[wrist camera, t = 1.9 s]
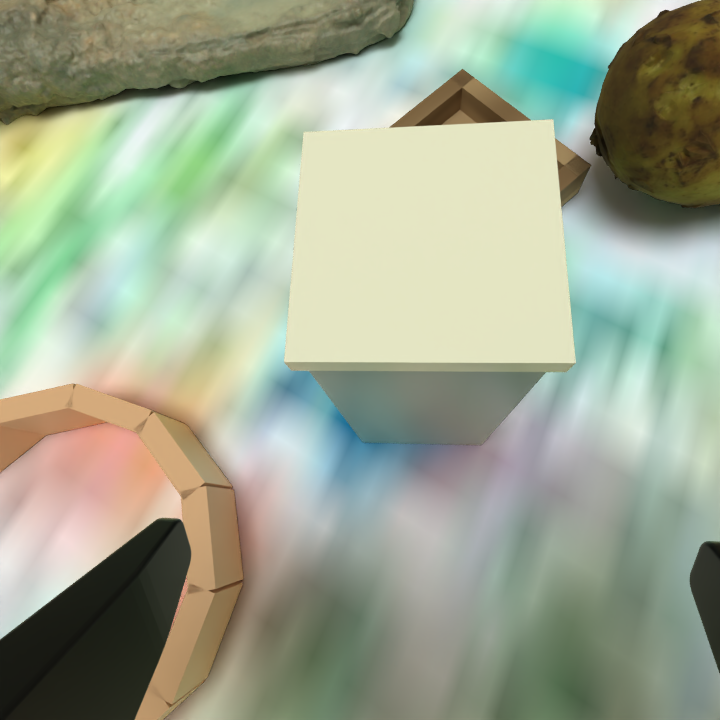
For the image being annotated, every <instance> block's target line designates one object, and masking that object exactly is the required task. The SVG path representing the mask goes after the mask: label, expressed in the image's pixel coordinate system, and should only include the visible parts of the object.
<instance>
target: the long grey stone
mask: <svg viewBox="0 0 720 720" xmlns="http://www.w3.org/2000/svg"><path fill="white" fill-rule="evenodd" d="M413 2H414V0H0V118H1V120H2V121H3V123H4V124H6V125H8V124H10V123H11V122H12V121H14V120H15V119H17V118H19V117H21V116H22V115H26V114H33V115H38V114H39V113H41V112H42V111H43V110H44V109H46V108H47V107H55V106H61V105H63V106H65V105H73V104H80V103H84V102H90V101H94V100H96V99H101V100H104V99H106V98H107V97H110V96H112V95H117V94H118V93H120V92H121V91H123V90H125V89H127V88H129V89H131V88H136V89H147V88H155V89H157V88H159V87H161V86H165V85H167V84H170V85H171V86H172V87H175V88H184V87H186V86H187V85H188V84H190V83H192V82H194V81H196V80H198V81H200V82H205V81H207V80H209V79H214V78H216V77H218V76H226V75H231V74H239V73H245V72H259V71H267V70H276V69H281V68H288V67H292V66H298V65H303V66H304V65H308V64H311V65H314V64H317V63H318V62H320V61H324V60H326V59H329V58H334V57H336V56H337V55H341V54H344V53H353V54H358V53H359V51H360V50H362V49H363V48H364V47H365V46H368V45H370V44H375V43H376V42H378V41H381V40H383V39H384V38H386V37H388V38H391V37H392V36H393V35H394V33H396V32H398V31H399V30H400V29H401V28H402V27H403V26H404V25H405V23H406V20H407V19H408V18H409V16H410V13H411V9H412V7H413Z"/></svg>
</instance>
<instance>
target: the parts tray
mask: <svg viewBox="0 0 720 720" xmlns="http://www.w3.org/2000/svg"><path fill="white" fill-rule="evenodd" d="M513 121H531V120H530V119H529V118H527V117H526V116H525V115H523V114H522V113H521V112H519V111H518V110H517V109H515V108H514V107H513V106H511V105H510V104H509V103H507V102H506V101H505V100H503V99H502V98H501V97H499V96H498V95H497V94H495V93H494V92H493V91H491V90H490V89H489V88H487V87H486V86H485V85H483V84H482V83H481V82H479V81H478V80H477V79H475V78H474V77H473V76H471V75H470V74H469V73H467V72H466V71H465V70H463V69H462V70H461V71H459V72H458V73H457V74H456V75H454V76H453V77H452V78H451V79H449V80H448V81H447V82H446V83H444V84H443V85H442V86H441V87H439V88H438V89H437V90H436V91H434V92H433V93H432V94H431V95H429V96H428V97H427V98H426V99H424V100H423V101H422V102H421V103H419V104H418V105H417V106H416V107H414V108H413V109H412V110H411V111H409V112H408V113H407V114H406V115H404V116H403V117H402V118H401V119H399V120H398V121H397V122H396V123H394V124H393V125H392V126H391V127H389V128H394V127H414V126H434V125H453V124H473V123H493V122H513ZM555 145H556V155H557V166H558V177H559V188H560V199H561V207H562V206H563V205H564V204H565V203H566V202H568V201H569V200H570V199H571V198H572V197H573V196H574V195H576V194H577V193H578V191H579V189H580V187H581V185H582V183H583V181H584V179H585V177H586V175H587V173H588V171H589V169H590V166H591V165H590V164H589V163H588V162H586V161H585V160H584V159H582V158H581V157H580V156H578V155H577V154H576V153H574V152H573V151H572V150H570V149H569V148H568V147H566V146H565V145H564V144H562V143H561V142H559V141H558V140H557V139H555Z"/></svg>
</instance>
